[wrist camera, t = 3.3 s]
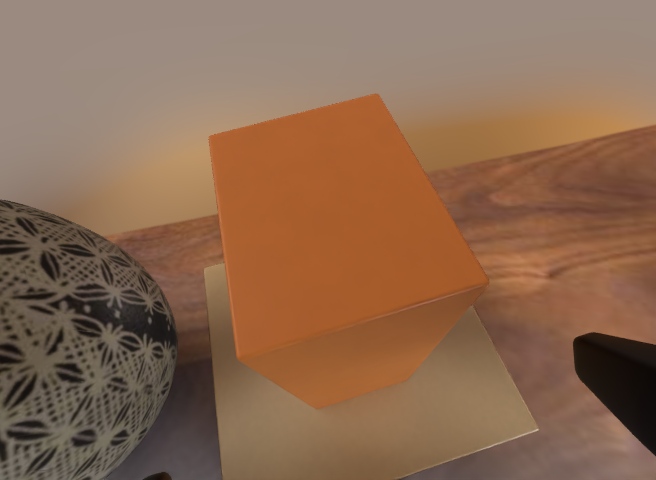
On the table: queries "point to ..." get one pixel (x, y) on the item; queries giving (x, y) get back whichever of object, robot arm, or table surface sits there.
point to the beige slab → (362, 410)
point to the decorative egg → (76, 349)
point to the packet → (336, 251)
